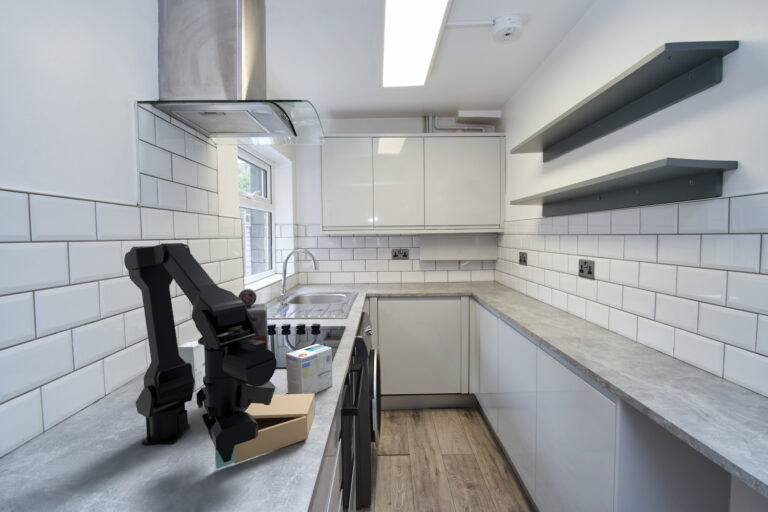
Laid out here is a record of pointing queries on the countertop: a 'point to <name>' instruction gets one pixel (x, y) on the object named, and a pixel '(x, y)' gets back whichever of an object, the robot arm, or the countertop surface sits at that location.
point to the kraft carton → (284, 410)
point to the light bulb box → (309, 369)
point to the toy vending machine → (255, 315)
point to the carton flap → (267, 441)
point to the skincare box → (194, 360)
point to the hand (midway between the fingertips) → (225, 458)
